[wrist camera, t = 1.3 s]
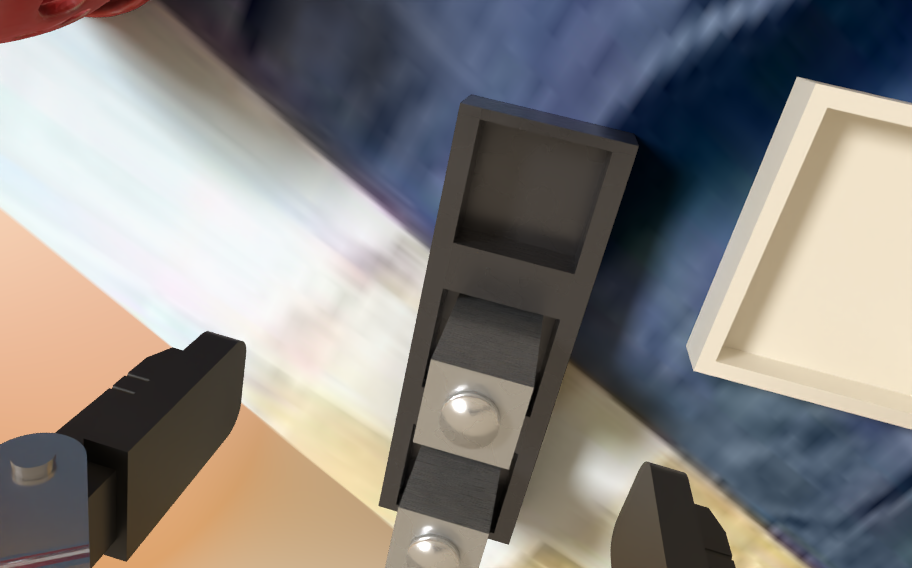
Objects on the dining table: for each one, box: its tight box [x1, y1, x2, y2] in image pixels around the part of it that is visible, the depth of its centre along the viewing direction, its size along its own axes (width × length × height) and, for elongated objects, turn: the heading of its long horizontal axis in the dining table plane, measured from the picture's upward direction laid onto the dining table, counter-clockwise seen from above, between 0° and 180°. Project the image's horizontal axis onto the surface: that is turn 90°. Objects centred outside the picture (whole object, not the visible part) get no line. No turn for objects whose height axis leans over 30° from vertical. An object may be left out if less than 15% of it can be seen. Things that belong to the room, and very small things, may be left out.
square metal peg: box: [385, 445, 501, 568], centre depth 35 cm, size 4×4×9 cm
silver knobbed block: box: [413, 293, 543, 470], centre depth 32 cm, size 4×4×9 cm
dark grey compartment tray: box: [379, 94, 639, 545], centre depth 35 cm, size 8×24×3 cm, turn 168°
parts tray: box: [686, 77, 912, 429], centre depth 30 cm, size 14×14×3 cm
